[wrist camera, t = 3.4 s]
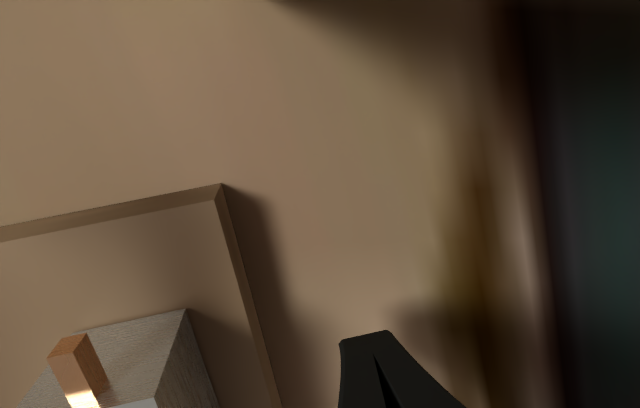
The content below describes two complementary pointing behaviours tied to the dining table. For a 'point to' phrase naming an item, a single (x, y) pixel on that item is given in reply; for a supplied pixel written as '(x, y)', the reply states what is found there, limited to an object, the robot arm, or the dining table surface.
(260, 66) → the dining table surface
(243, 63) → the dining table surface
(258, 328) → the board
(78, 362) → the block
